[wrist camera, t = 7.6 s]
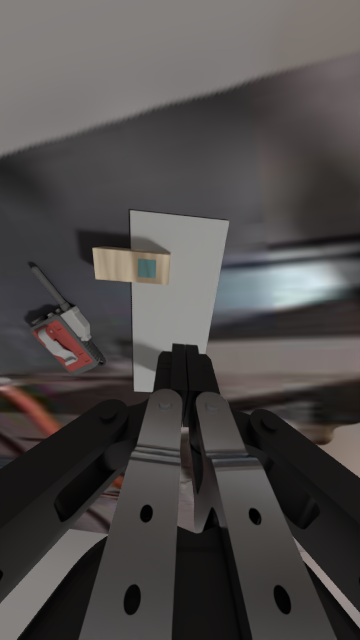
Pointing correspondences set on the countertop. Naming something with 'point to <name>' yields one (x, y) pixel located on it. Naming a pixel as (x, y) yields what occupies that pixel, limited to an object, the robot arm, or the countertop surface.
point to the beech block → (131, 265)
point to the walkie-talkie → (66, 334)
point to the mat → (174, 287)
